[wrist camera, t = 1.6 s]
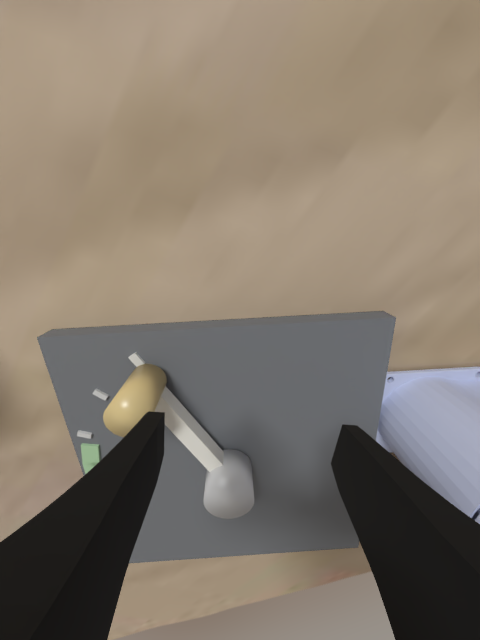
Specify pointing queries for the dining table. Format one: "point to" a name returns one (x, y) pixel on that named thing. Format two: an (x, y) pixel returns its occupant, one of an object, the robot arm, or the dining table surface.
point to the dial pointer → (185, 440)
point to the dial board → (235, 420)
